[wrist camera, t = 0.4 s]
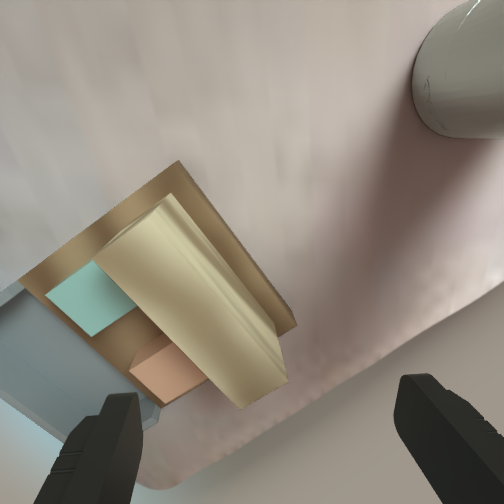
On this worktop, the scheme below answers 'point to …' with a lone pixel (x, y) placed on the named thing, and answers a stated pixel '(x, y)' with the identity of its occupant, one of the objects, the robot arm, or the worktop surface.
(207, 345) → the cream wooden beam
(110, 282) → the tile
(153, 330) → the board
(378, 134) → the worktop surface
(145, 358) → the tile
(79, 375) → the box
